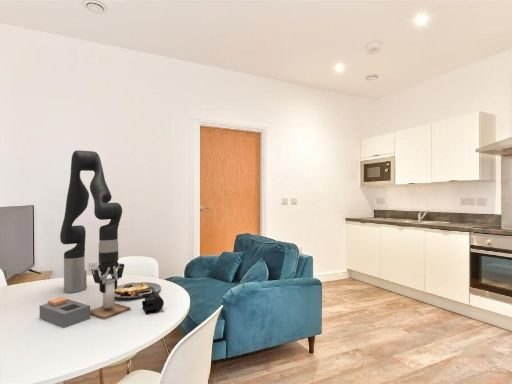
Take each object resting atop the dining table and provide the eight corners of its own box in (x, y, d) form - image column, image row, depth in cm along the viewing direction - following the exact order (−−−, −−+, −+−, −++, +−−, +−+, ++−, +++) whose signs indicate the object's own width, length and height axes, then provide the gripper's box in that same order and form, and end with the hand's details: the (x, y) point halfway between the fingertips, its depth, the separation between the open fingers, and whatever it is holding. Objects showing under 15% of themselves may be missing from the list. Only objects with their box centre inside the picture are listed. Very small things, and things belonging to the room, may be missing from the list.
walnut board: (112, 304, 138) (112, 302, 138) (130, 309, 132) (130, 307, 132) (86, 313, 128) (86, 311, 128) (104, 319, 122) (104, 317, 122)
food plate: (113, 304, 138) (114, 296, 138) (101, 292, 156) (101, 285, 156) (167, 294, 154) (167, 287, 154) (150, 284, 172) (150, 278, 172)
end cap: (163, 311, 130) (163, 295, 130) (146, 315, 126) (146, 298, 126) (158, 304, 138) (158, 289, 139) (141, 307, 135) (141, 292, 135)
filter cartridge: (110, 303, 133) (110, 277, 133) (117, 305, 131) (117, 279, 131) (99, 306, 129) (99, 280, 129) (107, 308, 127) (106, 281, 127)
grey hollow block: (65, 309, 132) (65, 298, 132) (90, 318, 123) (90, 305, 123) (39, 318, 124) (39, 305, 124) (64, 327, 115) (64, 314, 115)
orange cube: (61, 308, 130) (61, 296, 130) (68, 310, 127) (68, 298, 127) (47, 312, 125) (47, 300, 125) (54, 315, 123) (54, 302, 123)
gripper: (97, 253, 122) (97, 297, 122) (129, 248, 135) (129, 287, 134) (86, 252, 126) (86, 294, 126) (118, 246, 138) (118, 285, 138)
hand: (108, 290), depth 130 cm, fingers closed on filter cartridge, 4 cm apart
